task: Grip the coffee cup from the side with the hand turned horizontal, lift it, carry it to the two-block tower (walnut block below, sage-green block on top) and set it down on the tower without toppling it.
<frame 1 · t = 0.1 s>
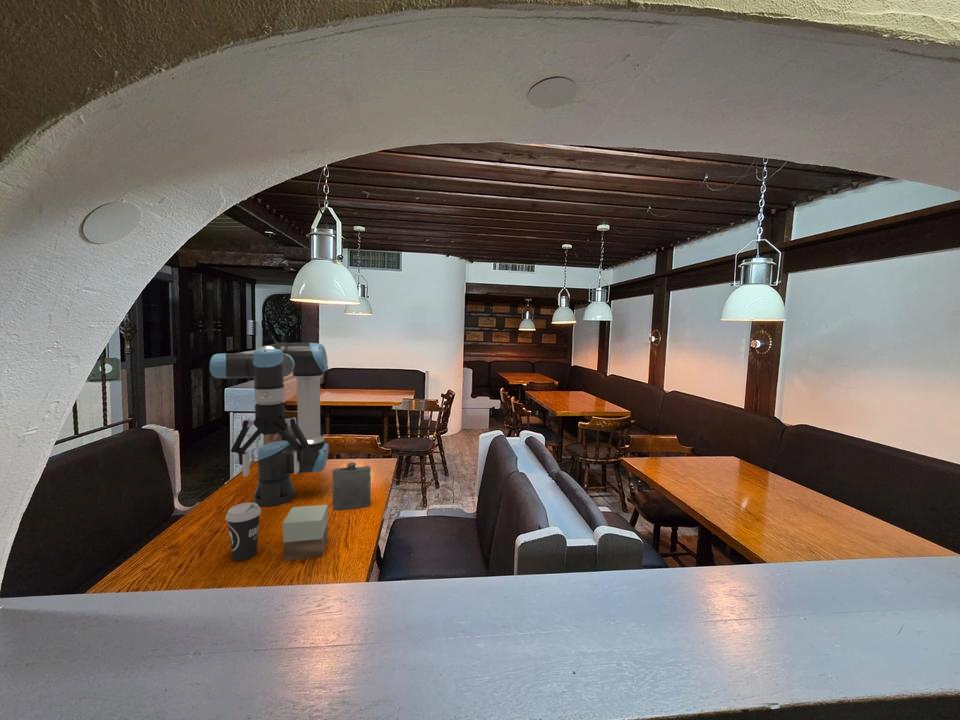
hand: (271, 473, 114), 28 cm above the table, tool pointing down, fingers open, 13 cm apart
coffee cup: (244, 555, 121), on the table
flask: (351, 507, 155), on the table
tower top: (306, 531, 125), point 6 cm above the table, touching tower base
tower base: (307, 549, 125), on the table, touching tower top
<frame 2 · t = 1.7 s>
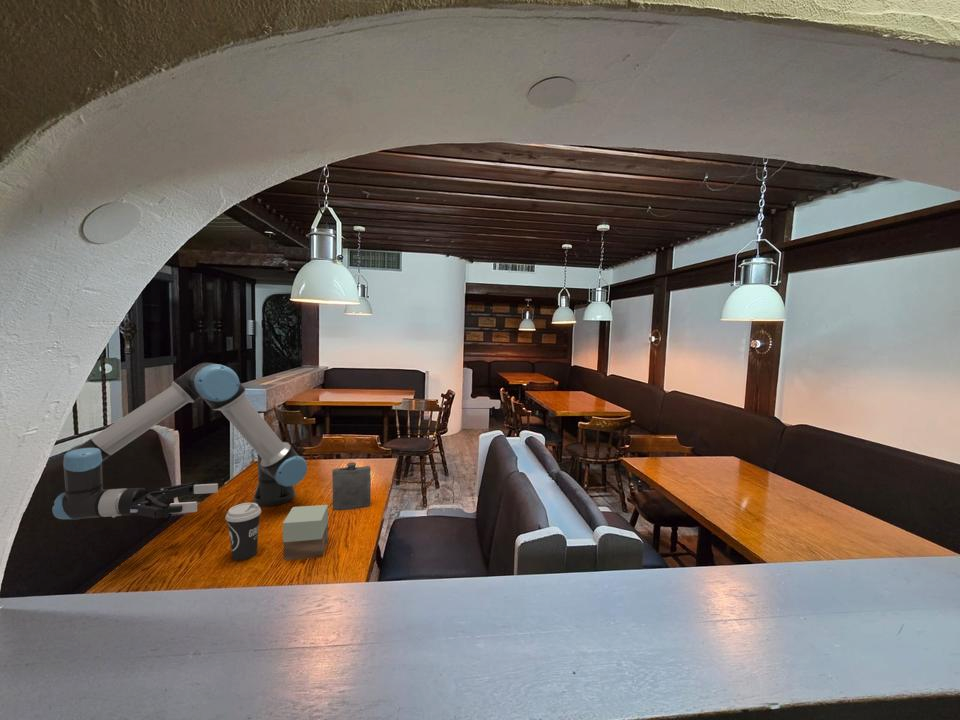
hand: (207, 496, 118), 19 cm above the table, tool horizontal, fingers open, 13 cm apart
nothing on the table moved.
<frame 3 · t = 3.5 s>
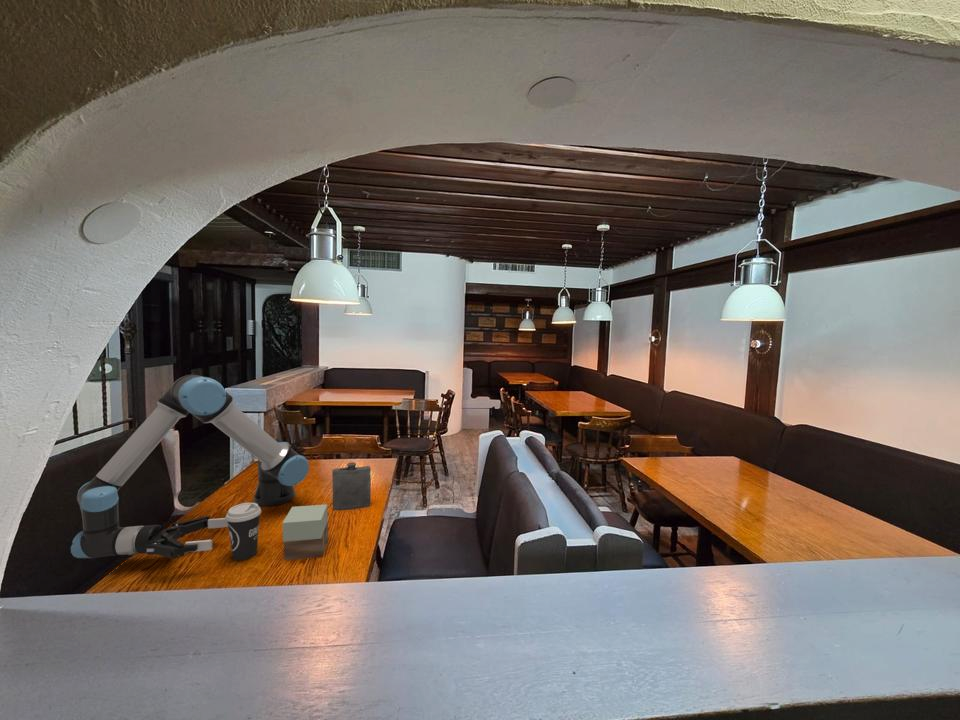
hand: (222, 532, 119), 8 cm above the table, tool horizontal, fingers open, 13 cm apart
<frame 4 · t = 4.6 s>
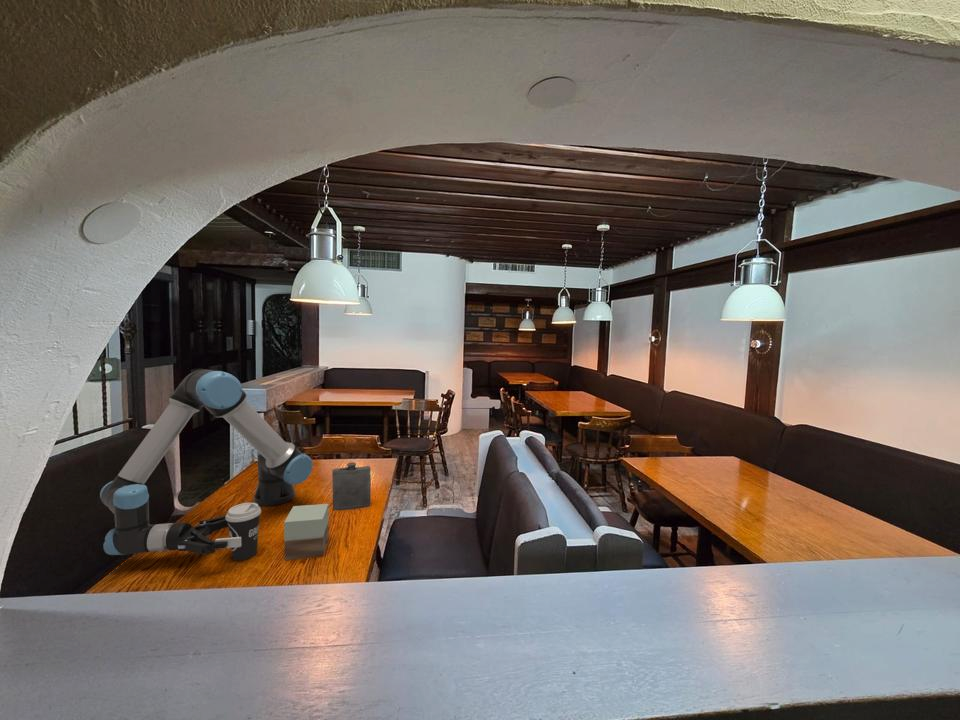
hand: (249, 530, 121), 8 cm above the table, tool horizontal, fingers open, 13 cm apart
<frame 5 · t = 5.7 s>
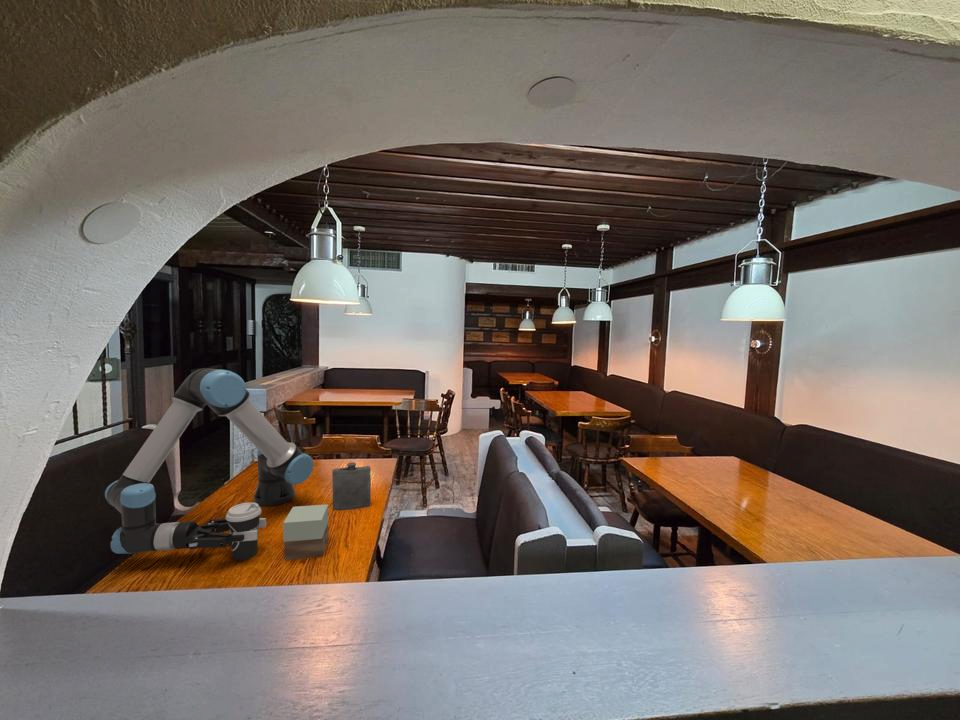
hand: (261, 528, 121), 8 cm above the table, tool horizontal, fingers closed on coffee cup, 7 cm apart
coffee cup: (244, 555, 121), on the table, touching gripper
tower top: (307, 531, 125), point 6 cm above the table
tower base: (307, 549, 125), on the table
everything else where it was.
when the fingers open (21 cm above the table, at t = 10.8 s): coffee cup drops 2 cm, resting on tower top.
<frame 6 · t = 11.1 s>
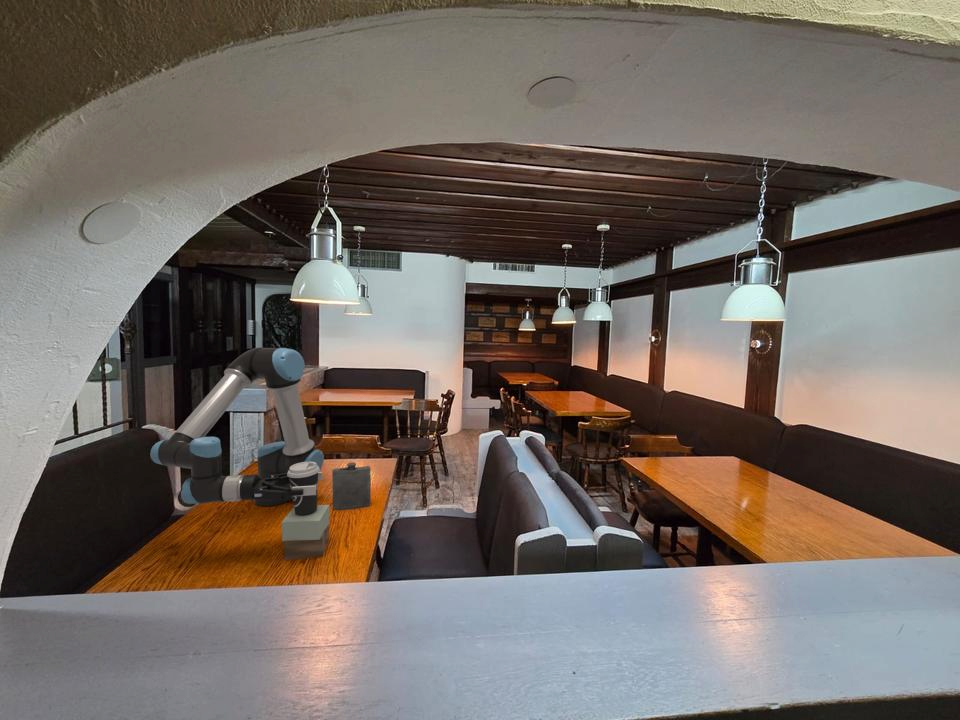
hand: (319, 482, 124), 21 cm above the table, tool horizontal, fingers open, 11 cm apart
coffee cup: (306, 511, 126), point 12 cm above the table, touching tower top
tower top: (307, 531, 125), point 6 cm above the table, touching coffee cup, tower base
tower base: (307, 549, 125), on the table, touching tower top
everything else where it was.
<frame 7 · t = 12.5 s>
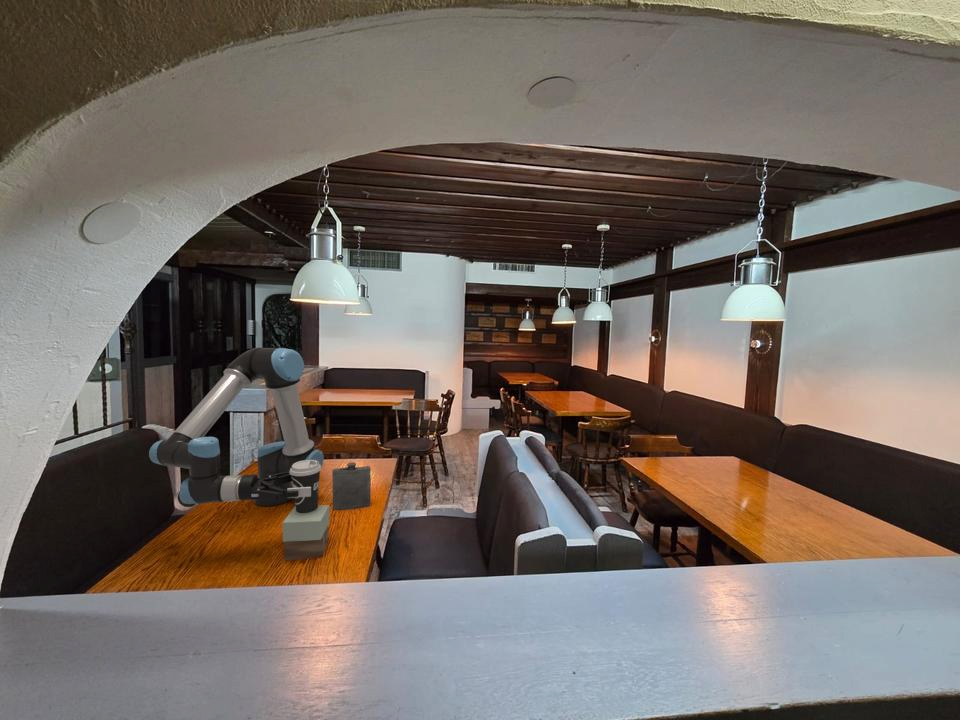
hand: (315, 483, 124), 22 cm above the table, tool horizontal, fingers open, 13 cm apart
coffee cup: (307, 508, 127), point 12 cm above the table, touching tower top
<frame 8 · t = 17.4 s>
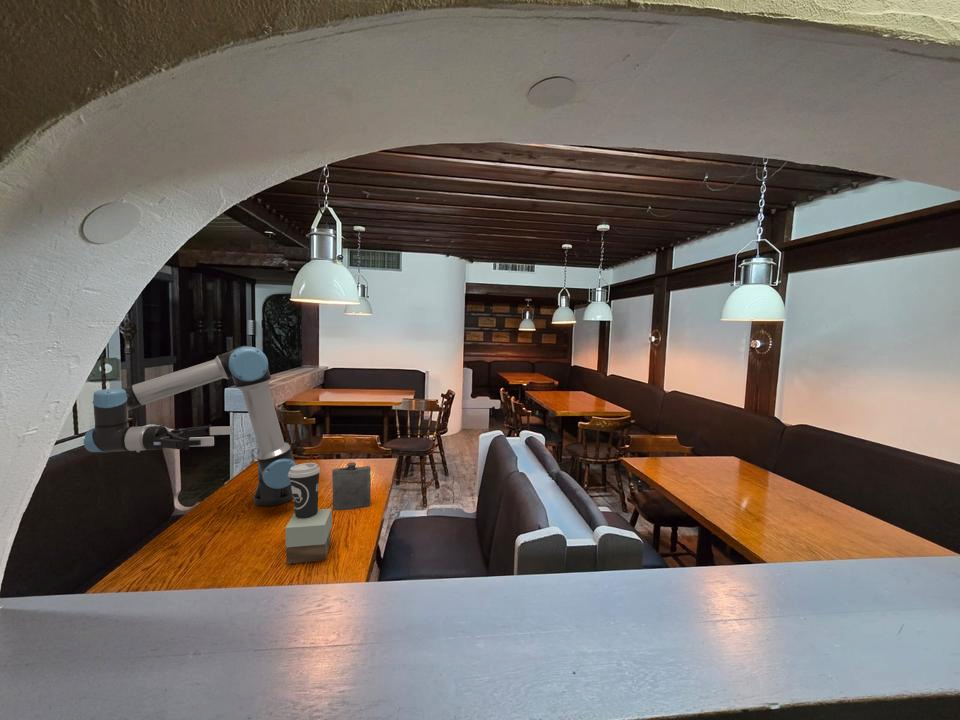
hand: (223, 435, 128), 35 cm above the table, tool horizontal, fingers open, 13 cm apart
coffee cup: (306, 513, 124), point 12 cm above the table, touching tower top
tower top: (309, 536, 122), point 6 cm above the table, touching coffee cup, tower base
tower base: (309, 552, 123), on the table, touching tower top
everything else where it was.
at the end: coffee cup inside the target area on the tower base (1.9 cm from its centre), point 12.2 cm above the tower base's base; tower top 1.3 cm from the tower base (horizontally); coffee cup tilted 7° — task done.
